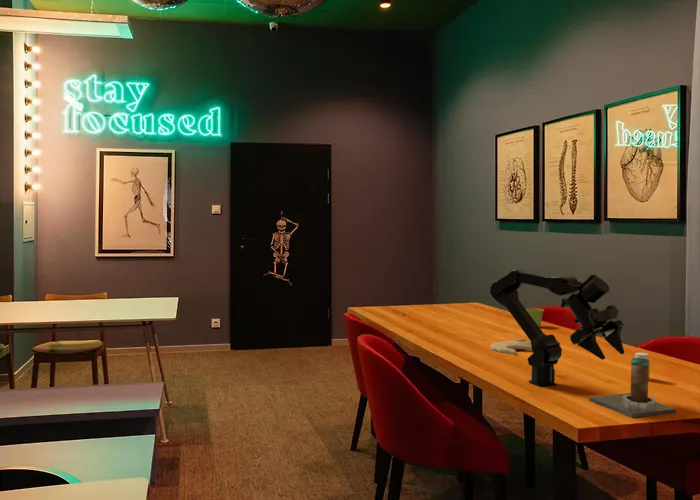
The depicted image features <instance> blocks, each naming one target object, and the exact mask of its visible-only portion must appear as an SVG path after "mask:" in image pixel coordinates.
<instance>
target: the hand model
mask: <svg viewBox="0 0 700 500" xmlns="http://www.w3.org/2000/svg"><path fill="white" fill-rule="evenodd" d="M489 347H490V350H491V351H494V352H498V353H502V354H503V353H504V354H510V355H513V356H516V355H517V350H527V351H530V352H531V351H532V347H531V341H527V340H526V338H525V337H524V338H523V337H522V338H517V339H512V340H506V341H498V342H493V343H491V344H490V346H489ZM532 352H533V351H532Z"/></svg>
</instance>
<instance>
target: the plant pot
mask: <svg viewBox="0 0 700 500" xmlns="http://www.w3.org/2000/svg"><path fill="white" fill-rule="evenodd" d="M525 309H526V310H527V312H528V313H529V314H530V316H531V317H532V318H533V320H534V321H535V322H536V324H537V325H538V326H539V328H541V326H542V320H543V319H542V318H543V314H544V311H545V309H543V308H536V307H535V308H534V307H533V308H531V307H529V308H525Z"/></svg>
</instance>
